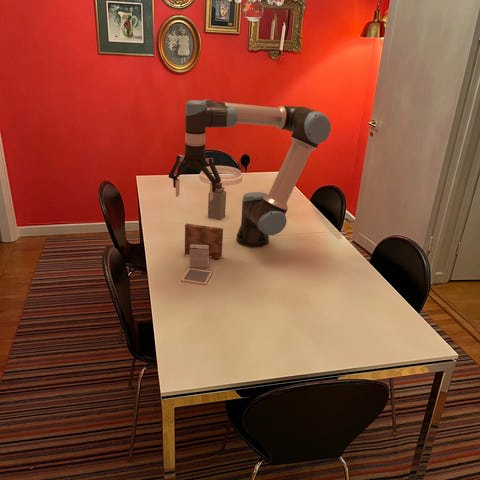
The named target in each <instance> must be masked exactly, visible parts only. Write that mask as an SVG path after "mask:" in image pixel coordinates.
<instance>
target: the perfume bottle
mask: <svg viewBox="0 0 480 480" xmlns="http://www.w3.org/2000/svg"><path fill="white" fill-rule="evenodd" d="M226 202H227V191H226V190H225V186H222V183H217V184H216V191H215V192H213V199H212V201H210V191H209V192H208V201H207V203H208V204H207V205H208V206H207V218H208V219H212V220H217V221H220V220H222V219H223V218H225V216H226V210H227V209H226V208H227V207H226V206H227V205H226V204H227V203H226Z"/></svg>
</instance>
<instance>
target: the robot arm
mask: <svg viewBox="0 0 480 480" xmlns="http://www.w3.org/2000/svg"><path fill="white" fill-rule="evenodd" d="M184 110H185V112H184V121H185V122H184V123H185V124H184V125H185V127H184V128H185V131H184V136H185V137H184V142H185V144H184V155H182V154H181V153H179V154H178V155H177V156H176V160H175V163H174V164H173V166H172V168H171V170H170V172H169V173H168V176H167V177H168V178H169V179H172V183H173V184H172V185H173V186H172V187H173V188H174V189H175V197H177V198H178V197H179V196H180V180H181V179H180V178H179V177H180V176H181V175H182V173H184V171H186V169H188V168H190V169H196V170H199V169H200V170H201V171H203V172H204V173H205V175H206V176H207V177H208V179H209V180H210V181H211V184H209V192H210V201H212V199H213V192H215V191H216V184H217V183H220V181H221V178H220V177H221V176H220V173H218V172H217V169H216V167H215V166H216V165H215V164H214V162H215V161H214V157H213V156H211V157H206V133H207V132H206V131H207V130H206V129H207V128H233V127H235V126H236V125H237V124H246V125H256V126H269V127H276V129H278V130H284V131H288V132H290V133H291V136H290V139H291V144H290V146H289V149H288V151H287V152H286V155H285V158H284V160H283V162H282V165H281V166H280V169H279V171H278V173H277V176H276V177H275V178H274V181H273V184H272V186H271V187H270V190H269V192H268V193H266V192H260V191H253V192H252V191H251V192H246V193H244V194H243V196H242V201H241V203H242V204H241V220H240V222H241V223H240V226H239V228H238V231H237V233H236V242H237V243H238V244H239V245H242V246H245V247H248V248H261V247H264V246H267V245H268V244H269V242H270V236H276V235H278V234H280V233H281V232H282V231H283V230H284V229H285V228H286V226H287V221H288V220H287V215H286V214H287V212H288V209H289V207H288V204H287V203H288V201H289V198H290V197H291V196H292V193H293V191H294V189H295V186H296V184H297V182H298V180H299V178H300V176H301V174H302V171H303V169H304V168H305V165H306V163H307V162H308V159H309V157H310V155H311V153H312V152H313V151H315V150H317V148H318V147H319V145H320V144H322V143H323V142H325V141H326V140H327V139H328V138H329V137H330V134H331V131H332V130H331V129H332V125H331V121H330V118H328V116H327V115H325V114H324V113H322V112H321V111H318V110H314V109H311V108H308V107H307V106H306V107H305V106H294V105H293V106H292V105H291V106H290V105H289V106H287V105H286V106H285V105H279V106H278V107H273V106H272V107H271V106H264V105H263V106H262V105H253V104H245V103H244V104H243V103H236V102H235V103H234V102H226V101H225V102H223V101H217V100H216V101H215V100H212V99H203V100H197V99H192V100H191V99H190V100H187V101H186V102H185V109H184ZM182 161H184V162H185V165H183V167H182V168H180V170H179V171H178V172H177V173H176V170H177V169H178V167H179V166H180V163H181V162H182ZM205 163H207V164H208V165H209V166H210V168H211V170H212V173H210V171H209V170H208V169H207V167H208V166H207V165H206V164H205ZM175 173H176V174H175ZM213 176H214V177H215V178H214V177H213Z"/></svg>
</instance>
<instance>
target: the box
mask: <svg viewBox="0 0 480 480" xmlns="http://www.w3.org/2000/svg"><path fill="white" fill-rule="evenodd" d="M209 259H210V256H209V245H193V244H190V255H189V268H205V269H206V268H209V261H210V260H209Z"/></svg>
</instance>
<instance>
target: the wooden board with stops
mask: <svg viewBox="0 0 480 480" xmlns="http://www.w3.org/2000/svg"><path fill="white" fill-rule="evenodd" d="M223 236H224V228H221V227H216V226H209V225H208V226H207V225H201V224H200V225H199V224H193V223H187V222H186V224H184V255H186V256H190V244H193V245H209V258H210V257H211V259H215V260H220V259H221V258H222V256H223V239H224V238H223Z"/></svg>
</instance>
